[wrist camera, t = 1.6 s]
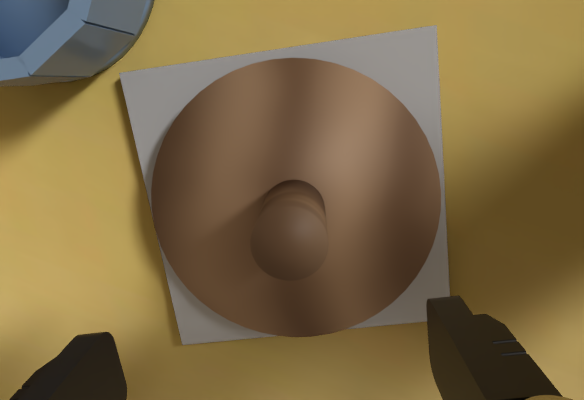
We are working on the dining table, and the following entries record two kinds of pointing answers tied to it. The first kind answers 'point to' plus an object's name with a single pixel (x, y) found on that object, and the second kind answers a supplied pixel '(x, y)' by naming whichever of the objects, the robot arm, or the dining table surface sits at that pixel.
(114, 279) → the dining table surface
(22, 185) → the dining table surface
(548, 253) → the dining table surface
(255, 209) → the lid
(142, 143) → the mat
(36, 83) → the bowl
